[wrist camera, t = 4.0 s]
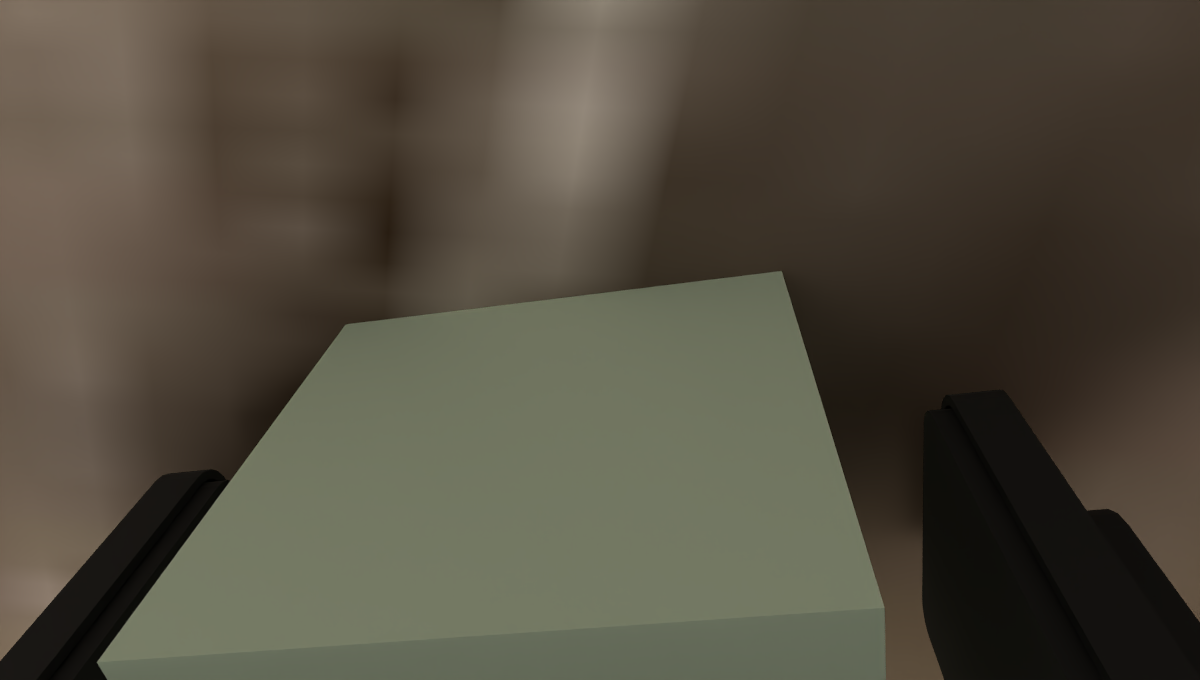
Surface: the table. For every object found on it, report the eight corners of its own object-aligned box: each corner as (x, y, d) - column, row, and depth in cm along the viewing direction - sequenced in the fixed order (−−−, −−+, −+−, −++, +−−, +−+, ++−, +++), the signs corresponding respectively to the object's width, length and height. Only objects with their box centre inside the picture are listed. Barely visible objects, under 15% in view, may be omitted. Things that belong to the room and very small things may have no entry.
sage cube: (347, 321, 10) (96, 663, 6) (780, 268, 9) (883, 608, 5) (451, 631, 12) (330, 1048, 8) (805, 605, 12) (892, 1048, 7)
